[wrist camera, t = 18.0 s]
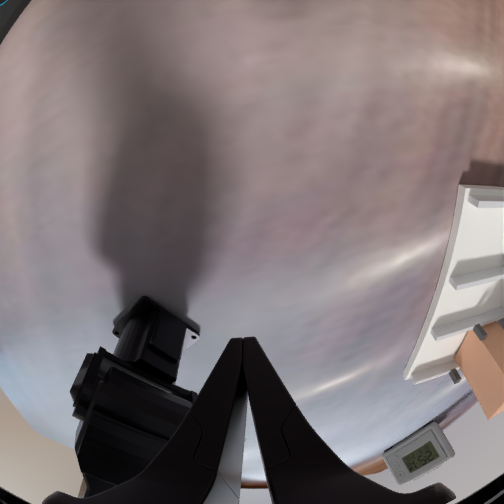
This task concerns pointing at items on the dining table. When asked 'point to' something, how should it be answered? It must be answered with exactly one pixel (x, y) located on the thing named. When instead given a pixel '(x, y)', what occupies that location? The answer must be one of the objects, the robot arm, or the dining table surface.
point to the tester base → (464, 284)
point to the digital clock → (418, 454)
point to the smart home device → (10, 14)
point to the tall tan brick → (485, 367)
